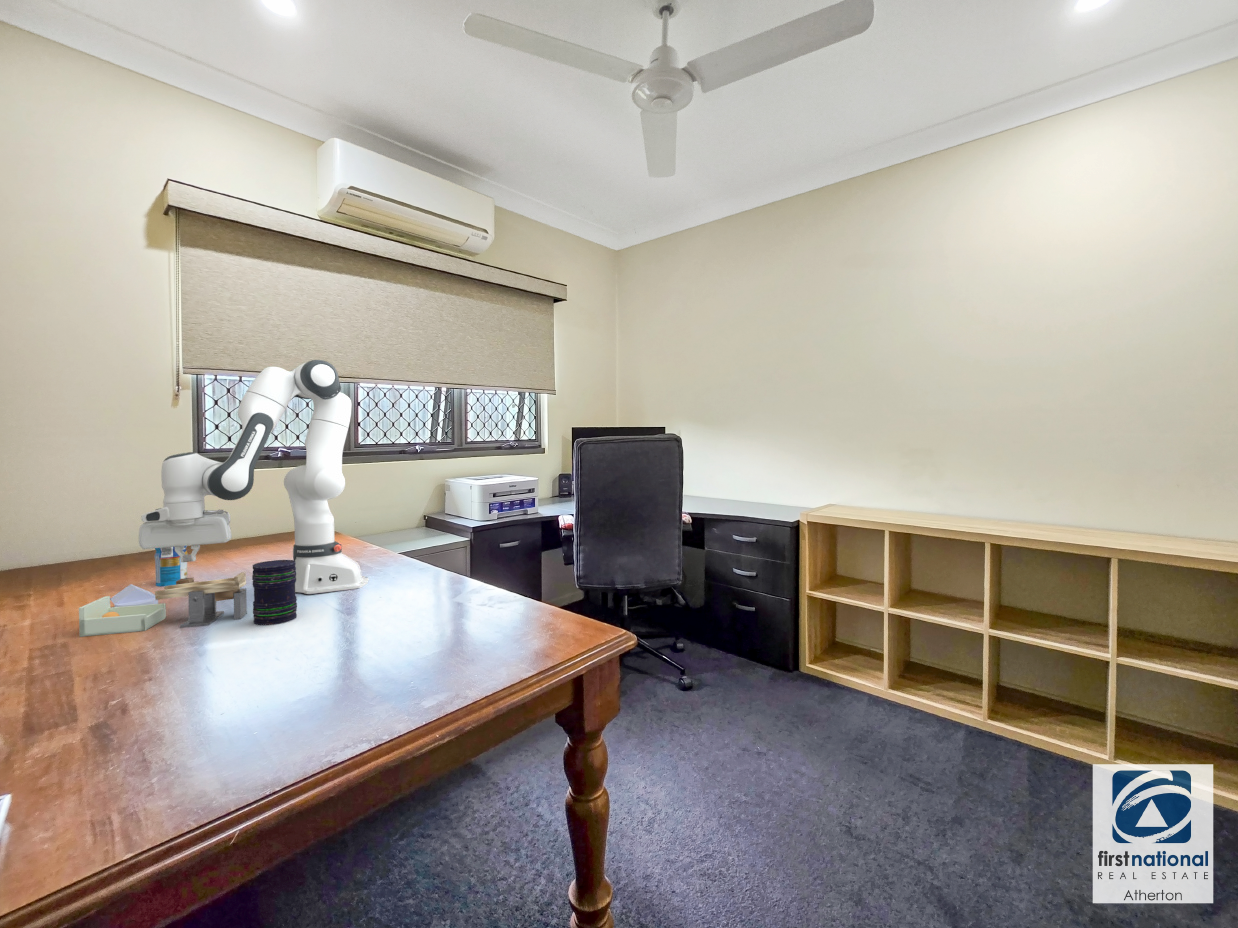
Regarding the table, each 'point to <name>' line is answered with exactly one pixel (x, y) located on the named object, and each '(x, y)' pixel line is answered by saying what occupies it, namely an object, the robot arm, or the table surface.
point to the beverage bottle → (169, 566)
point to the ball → (110, 614)
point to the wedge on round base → (133, 597)
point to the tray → (118, 617)
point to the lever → (204, 588)
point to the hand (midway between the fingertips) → (188, 561)
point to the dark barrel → (274, 592)
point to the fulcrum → (212, 608)
